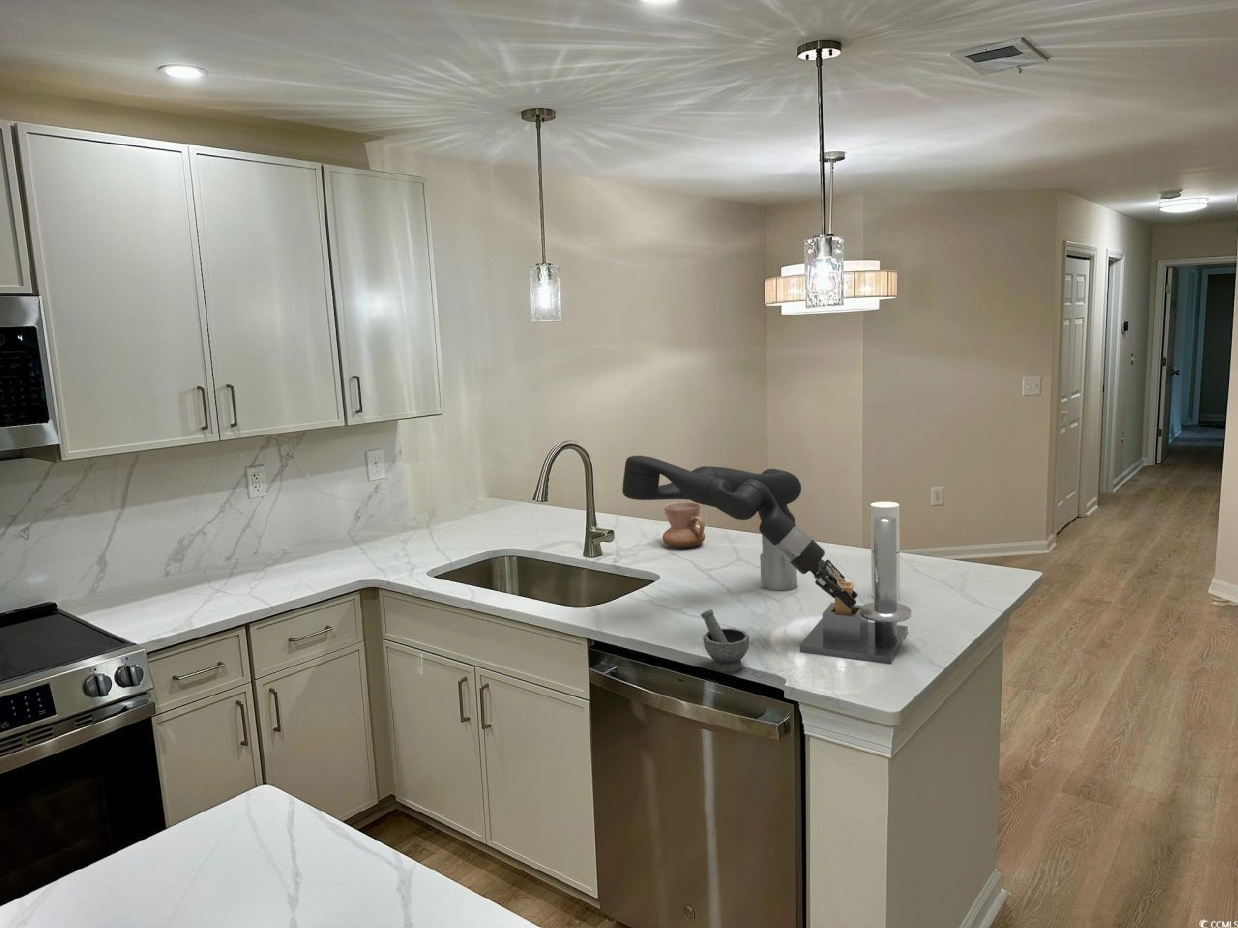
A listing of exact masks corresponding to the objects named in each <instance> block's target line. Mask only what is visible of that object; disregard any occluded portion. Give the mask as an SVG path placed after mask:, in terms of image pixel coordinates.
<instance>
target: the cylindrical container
mask: <svg viewBox="0 0 1238 928" xmlns="http://www.w3.org/2000/svg"><path fill="white" fill-rule="evenodd" d="M876 517H894V518H896V563H897V600H899V599H900V598H901V587H900V585H901V580H900V579H901V574H900V572H901V569H900V568H901V565H900V564H901V563H900V562H901V559H900V557H901V556H900V554H901V553H900V551H901V549H900V547H901V546H900V545H901V544H900V504H899V503H898V502H894V501H875V502H872V503H870V538H871V540H870V545H871V546H870V547H871V550H870V552H871V553H870V554H871V555H870V557H871V559H870V560H871V562H870V563H871V597H872V598H873V599H874V518H876Z"/></svg>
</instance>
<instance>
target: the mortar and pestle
mask: <svg viewBox="0 0 1238 928" xmlns="http://www.w3.org/2000/svg"><path fill="white" fill-rule="evenodd" d="M700 616H701V618H702V619H703V620H704V622H705V625H706V627H707V630H708V631H707V632H706V633H705V634H704V635H703V644H704V649H705V650H706V653H707V654H708V656H709V657H710V658H711V659H712V660H713V662H712V666H713V668H714V669H715V670H717V671H720V672H734V671H738V670H739V669H740V668H741V667H743V665H742V659H743V658H744V657H745V655H746V653H747V652H748V650H749V647H750V646H749V645H750V635H749V634H748V633H747V632H746V631H744V630H740V629H737V628H721V626H720V624H719V622H718V621H717V619H716V617H715V615H714V610H713V609H706V610H704V611H703V612H702V613H700Z"/></svg>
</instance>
